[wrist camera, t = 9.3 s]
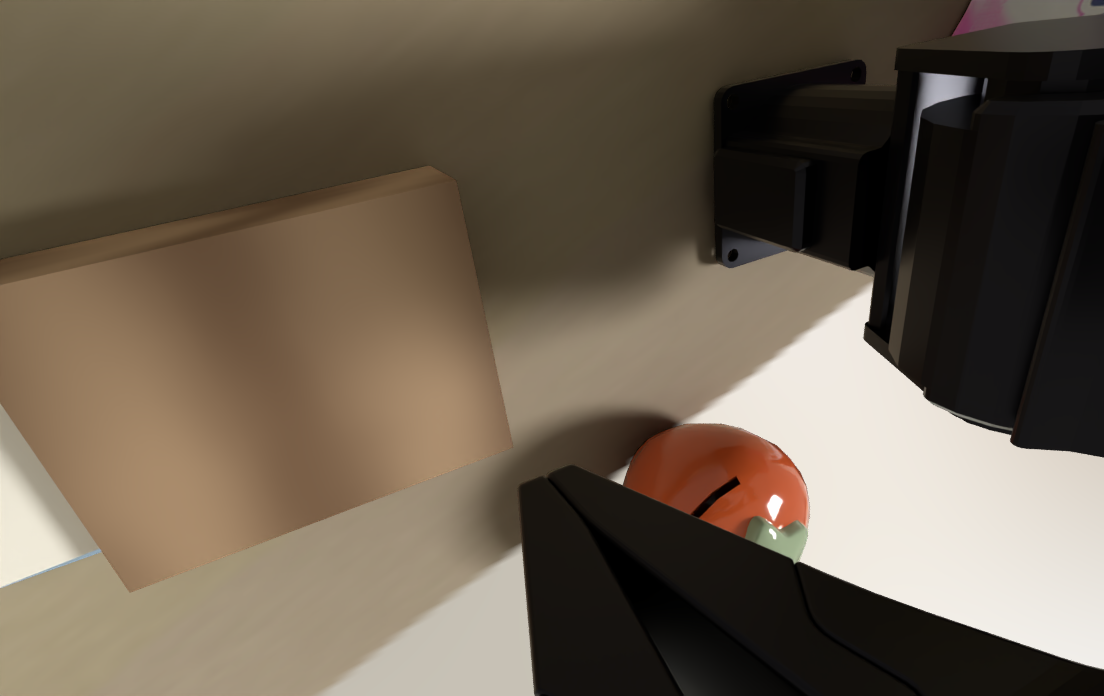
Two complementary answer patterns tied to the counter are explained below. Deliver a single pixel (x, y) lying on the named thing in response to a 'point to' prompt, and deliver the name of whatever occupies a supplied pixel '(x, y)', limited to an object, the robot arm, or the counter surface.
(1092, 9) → the gum box
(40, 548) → the white rectangular block
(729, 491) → the tomato
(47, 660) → the counter surface
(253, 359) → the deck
